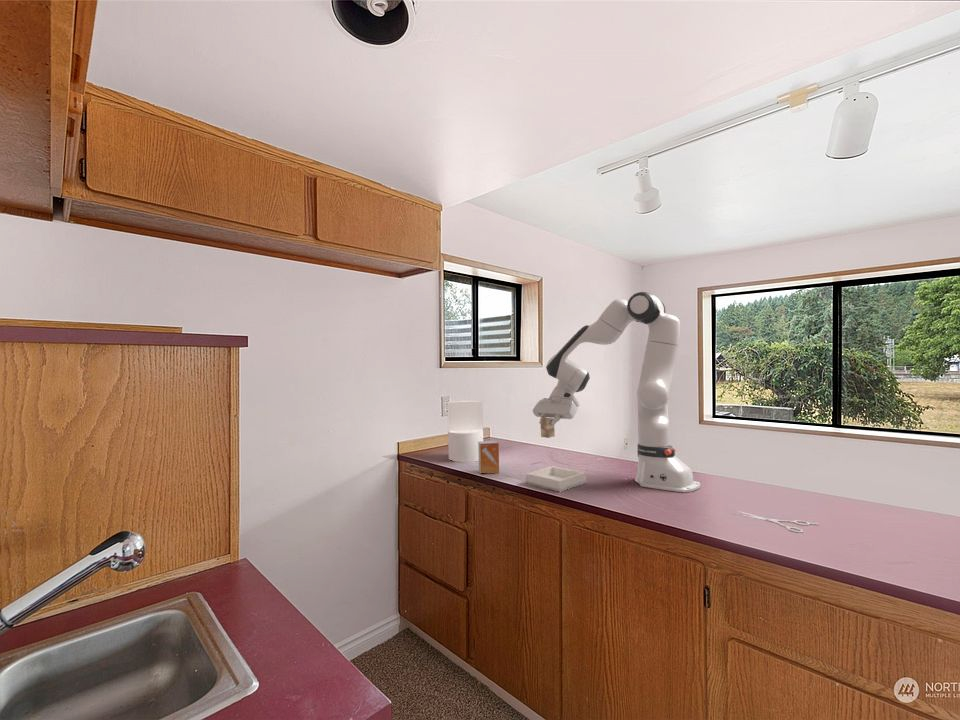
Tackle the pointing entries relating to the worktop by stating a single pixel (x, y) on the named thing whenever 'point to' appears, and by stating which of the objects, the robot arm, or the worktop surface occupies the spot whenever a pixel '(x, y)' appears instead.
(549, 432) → the beech block
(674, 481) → the robot arm
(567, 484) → the bin
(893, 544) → the worktop surface
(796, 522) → the scissors
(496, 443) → the small box
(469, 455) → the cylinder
